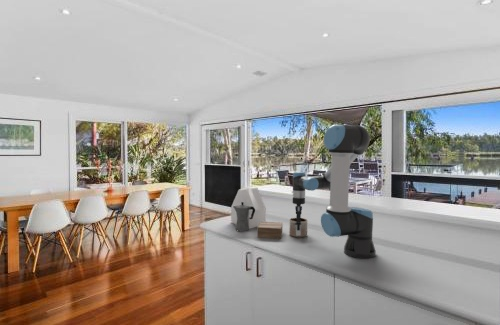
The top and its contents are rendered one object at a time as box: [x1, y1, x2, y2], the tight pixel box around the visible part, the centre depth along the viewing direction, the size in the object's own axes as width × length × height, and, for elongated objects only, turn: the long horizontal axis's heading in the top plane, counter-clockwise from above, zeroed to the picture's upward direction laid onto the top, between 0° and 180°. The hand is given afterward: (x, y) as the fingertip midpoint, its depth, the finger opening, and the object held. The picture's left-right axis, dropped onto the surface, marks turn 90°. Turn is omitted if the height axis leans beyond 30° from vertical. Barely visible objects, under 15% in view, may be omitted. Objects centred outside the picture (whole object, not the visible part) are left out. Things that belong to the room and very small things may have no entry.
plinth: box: [257, 221, 283, 240], centre depth 183 cm, size 14×14×6 cm
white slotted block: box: [230, 186, 267, 229], centre depth 208 cm, size 19×15×25 cm
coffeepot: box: [233, 202, 255, 232], centre depth 193 cm, size 15×9×18 cm, turn 69°
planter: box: [288, 217, 308, 238], centre depth 182 cm, size 11×11×10 cm
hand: (298, 232), depth 182 cm, fingers closed on planter, 11 cm apart
